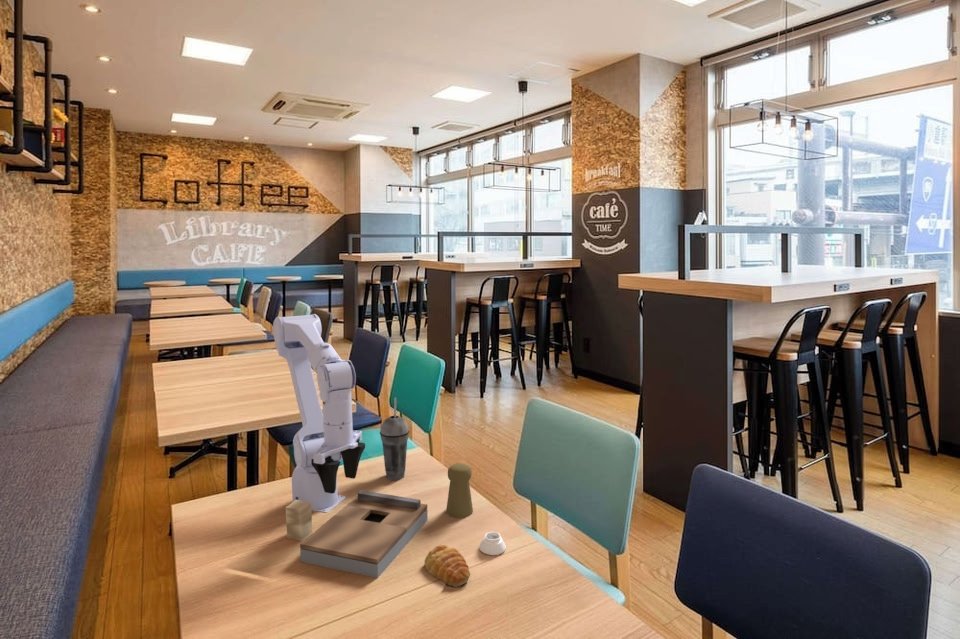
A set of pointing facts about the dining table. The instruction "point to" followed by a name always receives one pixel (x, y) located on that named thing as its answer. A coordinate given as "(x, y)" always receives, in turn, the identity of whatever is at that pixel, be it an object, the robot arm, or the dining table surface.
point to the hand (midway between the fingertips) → (340, 484)
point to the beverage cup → (394, 445)
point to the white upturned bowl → (492, 544)
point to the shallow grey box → (360, 565)
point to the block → (299, 520)
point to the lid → (366, 527)
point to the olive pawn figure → (459, 491)
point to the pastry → (447, 565)
